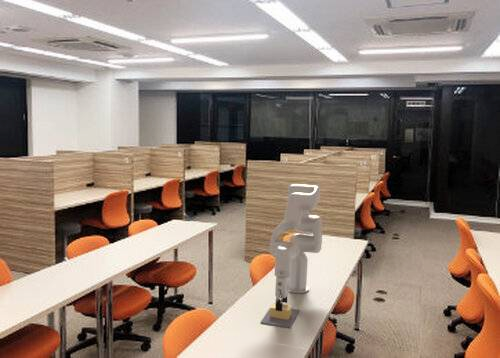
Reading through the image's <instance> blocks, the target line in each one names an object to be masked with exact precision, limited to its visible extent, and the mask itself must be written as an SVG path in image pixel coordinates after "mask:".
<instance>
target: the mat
mask: <svg viewBox="0 0 500 358" xmlns="http://www.w3.org/2000/svg"><path fill="white" fill-rule="evenodd" d="M299 313H300V309H297V308H292V311H291V316H290V318H289V320H286V319H281V318H275V317H270V308H269V309H268V310H267V311H266V314H265V315H264V316H263V318H262V319H261V321H260V324H263V325H268V326H269V325H270V326H274V327H279V328H286V329H291V327H292V325H293V324H294V322H295V320H296V319H297V316H298V315H299Z"/></svg>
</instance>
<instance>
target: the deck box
mask: <svg viewBox="0 0 500 358" xmlns="http://www.w3.org/2000/svg"><path fill="white" fill-rule="evenodd" d="M275 306H276V302H273V303H272V304H271V305H270V307H269V309H270V317H275V318H281V319H286V320H289V318H290V316H291V311H292V309H293V308H292V307H293V306H292V305H290V304H283V305H282V311H276V310H275Z"/></svg>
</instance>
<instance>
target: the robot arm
mask: <svg viewBox="0 0 500 358" xmlns="http://www.w3.org/2000/svg"><path fill="white" fill-rule="evenodd" d="M287 193H288V197H287V199H286V200H287V201H286V206H285V211H284V218H283V219H282V221H281V222H280V223H279V224H278V225H277V226H276V227H275V228H274V230H273V231H272V234H271V238H270V243H269V253H270V254H271V255H272V256H274V276H275V277H276V278H275V289H274V290H275V291H274V292H275V293H274V295H275V303H276V306H275V310H276V311H282V305H283V303H286V304H287V303H288V295H289V293H292V294H306V293H307V292H309V291H310V287H309V286H308V285H307V279H308V261H309V260H308V257H307V255H306V253H311V254H318V253H320V252H321V250H322V246H323V243H322V242H323V227H324V225H323V219H322V217H320V216H319V215H313V214H310V211H314V210H315V209H316V207H317V205H318V203H319V202H320V198H321V196H322V195H321V194H322V190H321V188H320V186H319V185H310V184H299V183H294V184H290V185H289V186H288V187H287ZM290 229H294V231H296V232H299V233H293V234H292V235H290V237H289V241H287V240H285V241H284V240H279V236H280V235H281V234H282V233H283V232H285V231H287V230H290ZM308 233H310V234H308Z"/></svg>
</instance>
